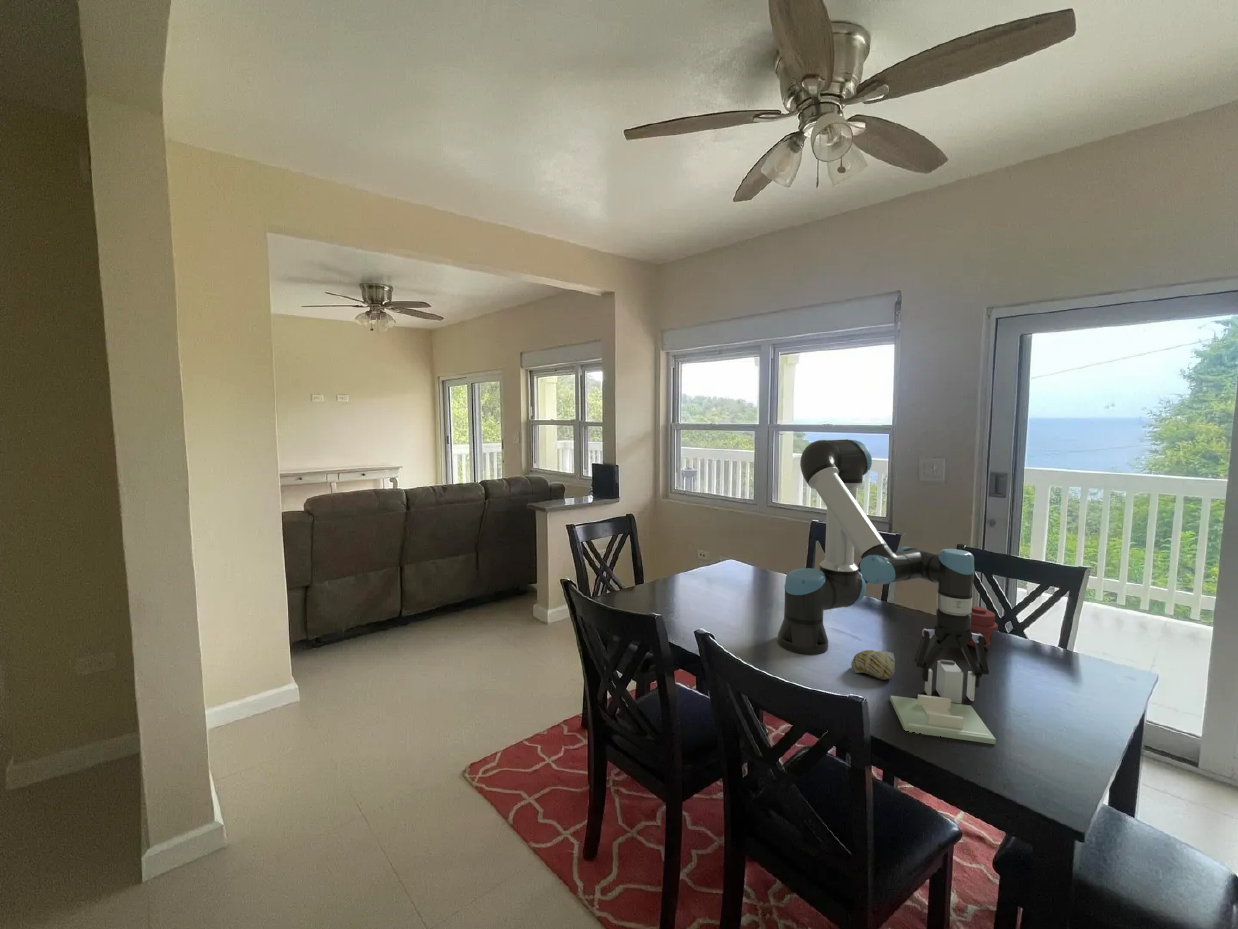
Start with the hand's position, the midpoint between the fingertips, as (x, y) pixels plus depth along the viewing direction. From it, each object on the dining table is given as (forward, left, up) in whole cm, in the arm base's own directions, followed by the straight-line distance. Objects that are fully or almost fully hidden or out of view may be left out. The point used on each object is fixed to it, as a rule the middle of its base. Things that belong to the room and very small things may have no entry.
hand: (948, 695), depth 135 cm
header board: (-6, -13, 0) cm, 14 cm away
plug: (0, 0, 0) cm, 0 cm away
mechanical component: (+19, +36, 0) cm, 41 cm away
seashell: (-16, +8, -1) cm, 18 cm away
